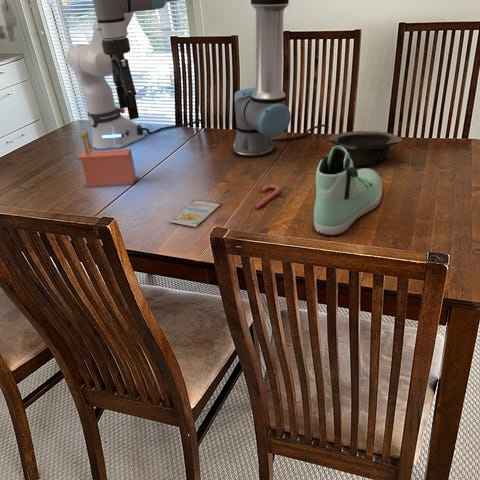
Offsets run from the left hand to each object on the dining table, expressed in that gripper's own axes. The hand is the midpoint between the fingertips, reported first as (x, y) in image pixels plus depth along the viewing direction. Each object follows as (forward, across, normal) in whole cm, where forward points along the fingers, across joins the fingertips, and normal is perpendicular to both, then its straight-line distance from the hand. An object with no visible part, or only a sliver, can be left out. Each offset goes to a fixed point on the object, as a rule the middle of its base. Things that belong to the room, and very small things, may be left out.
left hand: (7, 40), depth 159 cm
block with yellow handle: (+36, -32, -11) cm, 50 cm away
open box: (+46, -32, -11) cm, 57 cm away
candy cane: (+46, -82, -38) cm, 102 cm away
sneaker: (+46, -105, -50) cm, 125 cm away
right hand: (+20, -48, -15) cm, 54 cm away
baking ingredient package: (+46, -74, -17) cm, 89 cm away
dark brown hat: (+46, -84, -83) cm, 127 cm away
